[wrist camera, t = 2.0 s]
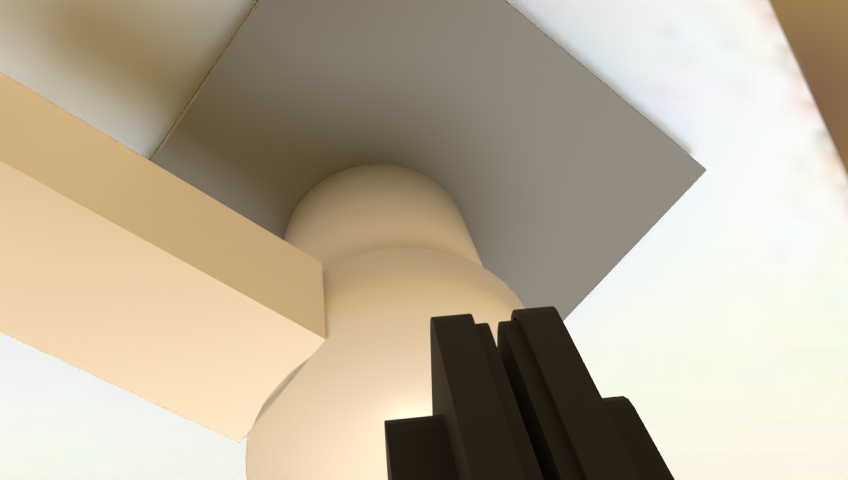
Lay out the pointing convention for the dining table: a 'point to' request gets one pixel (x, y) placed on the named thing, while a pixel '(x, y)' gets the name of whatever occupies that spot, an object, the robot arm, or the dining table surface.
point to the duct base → (427, 142)
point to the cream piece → (216, 301)
